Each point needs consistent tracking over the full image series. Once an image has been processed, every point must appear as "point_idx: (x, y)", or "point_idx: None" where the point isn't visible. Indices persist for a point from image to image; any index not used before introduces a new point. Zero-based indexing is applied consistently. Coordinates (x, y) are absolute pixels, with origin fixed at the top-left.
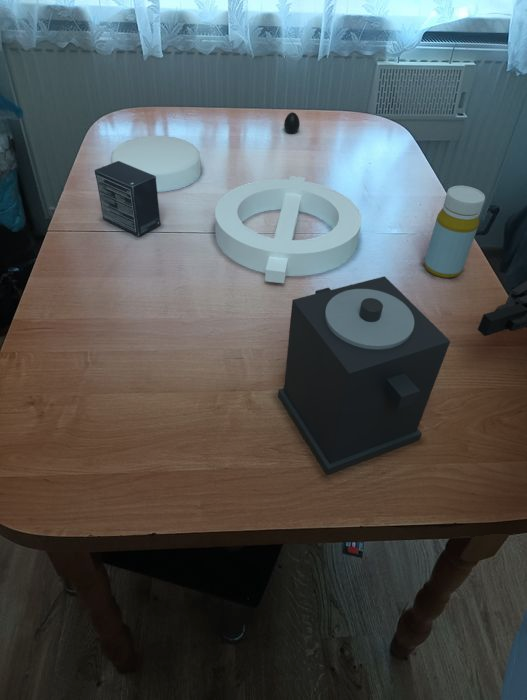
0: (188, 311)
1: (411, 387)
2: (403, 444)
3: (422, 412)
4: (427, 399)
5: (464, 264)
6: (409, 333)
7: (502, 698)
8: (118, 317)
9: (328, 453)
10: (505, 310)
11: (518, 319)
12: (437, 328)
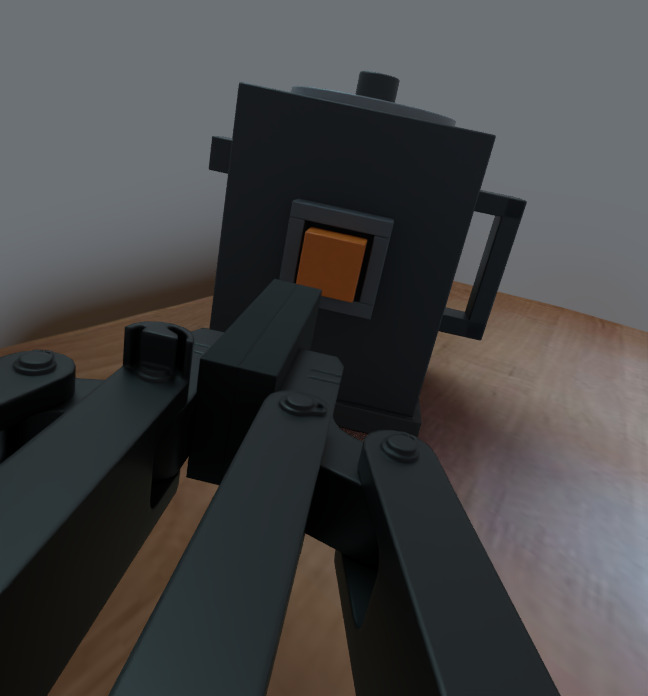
0: (644, 390)
1: (226, 138)
2: None
3: (212, 306)
4: (217, 266)
5: None
6: (298, 86)
7: None
8: (625, 354)
9: None
10: (285, 320)
11: (202, 348)
12: (283, 91)
